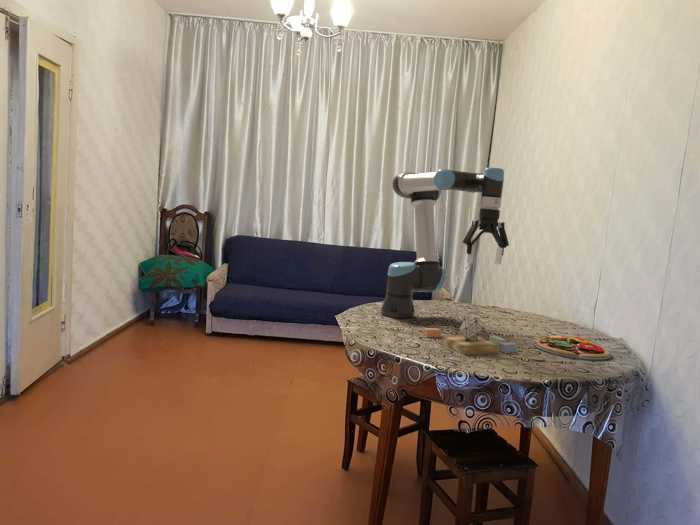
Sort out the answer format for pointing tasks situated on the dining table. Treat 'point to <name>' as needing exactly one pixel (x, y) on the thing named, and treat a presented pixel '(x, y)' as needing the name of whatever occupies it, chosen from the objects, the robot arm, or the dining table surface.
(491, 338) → the sage brick
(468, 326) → the game die
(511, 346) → the slate blue brick
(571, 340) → the toy pizza
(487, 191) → the robot arm
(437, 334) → the terracotta brick
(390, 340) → the dining table surface
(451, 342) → the oak block
